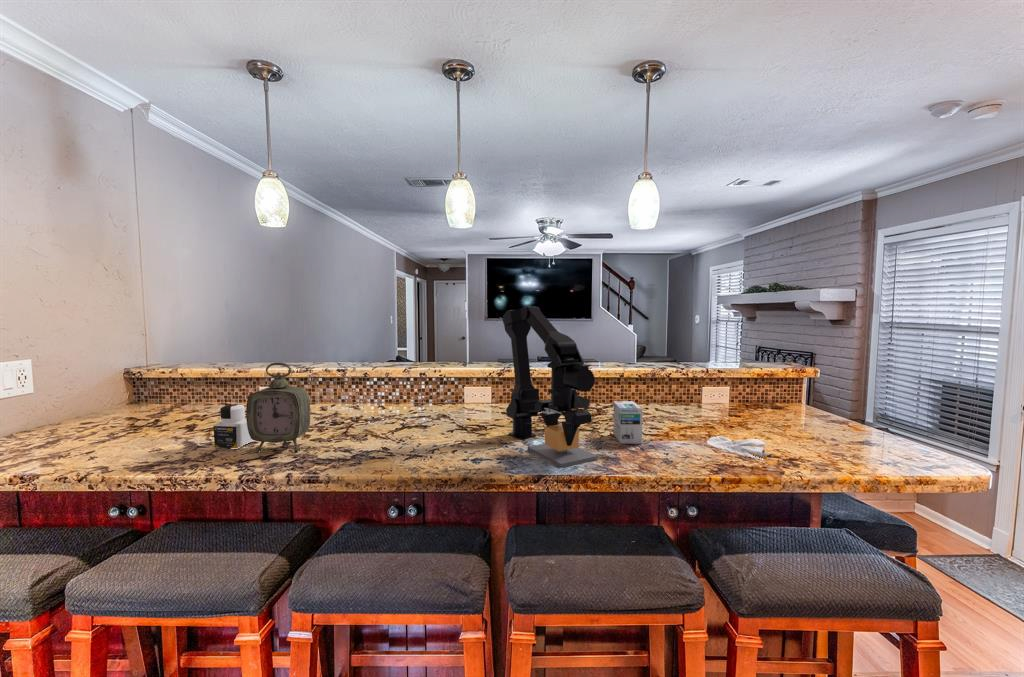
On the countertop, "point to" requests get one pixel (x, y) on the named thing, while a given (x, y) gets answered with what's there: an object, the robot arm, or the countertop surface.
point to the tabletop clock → (278, 412)
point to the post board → (562, 455)
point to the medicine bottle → (231, 428)
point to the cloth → (740, 446)
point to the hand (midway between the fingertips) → (561, 442)
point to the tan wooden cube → (559, 438)
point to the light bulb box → (628, 422)
